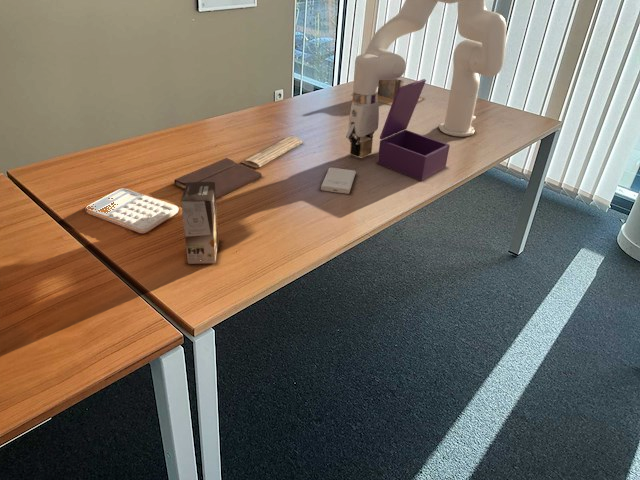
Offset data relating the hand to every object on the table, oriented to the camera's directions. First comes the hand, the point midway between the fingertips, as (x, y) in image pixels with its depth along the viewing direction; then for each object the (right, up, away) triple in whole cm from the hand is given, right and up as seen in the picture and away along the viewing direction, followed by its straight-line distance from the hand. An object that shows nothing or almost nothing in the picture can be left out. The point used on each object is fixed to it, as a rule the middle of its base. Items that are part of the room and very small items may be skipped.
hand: (360, 151), depth 171 cm
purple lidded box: (+16, -5, -4) cm, 17 cm away
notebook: (-42, -12, -19) cm, 48 cm away
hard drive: (-8, -12, -16) cm, 22 cm away
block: (0, 0, 0) cm, 0 cm away
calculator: (-61, -22, -35) cm, 74 cm away
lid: (+12, +11, -10) cm, 19 cm away
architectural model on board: (+16, +32, +53) cm, 64 cm away
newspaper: (-28, -1, -1) cm, 28 cm away
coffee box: (-40, -32, -49) cm, 71 cm away
